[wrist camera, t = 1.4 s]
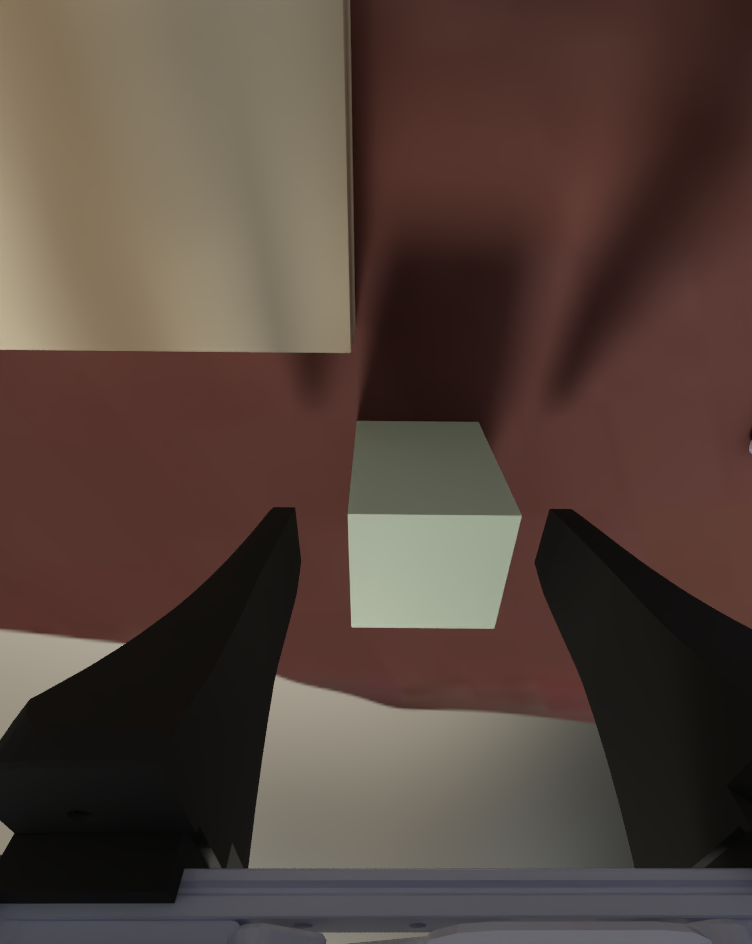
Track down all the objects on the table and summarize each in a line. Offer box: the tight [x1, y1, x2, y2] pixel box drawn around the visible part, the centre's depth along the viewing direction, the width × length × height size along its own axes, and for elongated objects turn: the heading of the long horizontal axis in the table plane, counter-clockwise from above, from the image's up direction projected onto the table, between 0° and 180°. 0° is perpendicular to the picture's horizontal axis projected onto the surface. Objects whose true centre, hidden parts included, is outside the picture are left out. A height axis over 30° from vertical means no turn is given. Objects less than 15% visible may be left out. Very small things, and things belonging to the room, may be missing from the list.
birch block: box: [0, 0, 355, 353], centre depth 9 cm, size 10×10×3 cm
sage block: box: [348, 421, 522, 629], centre depth 13 cm, size 4×4×5 cm
